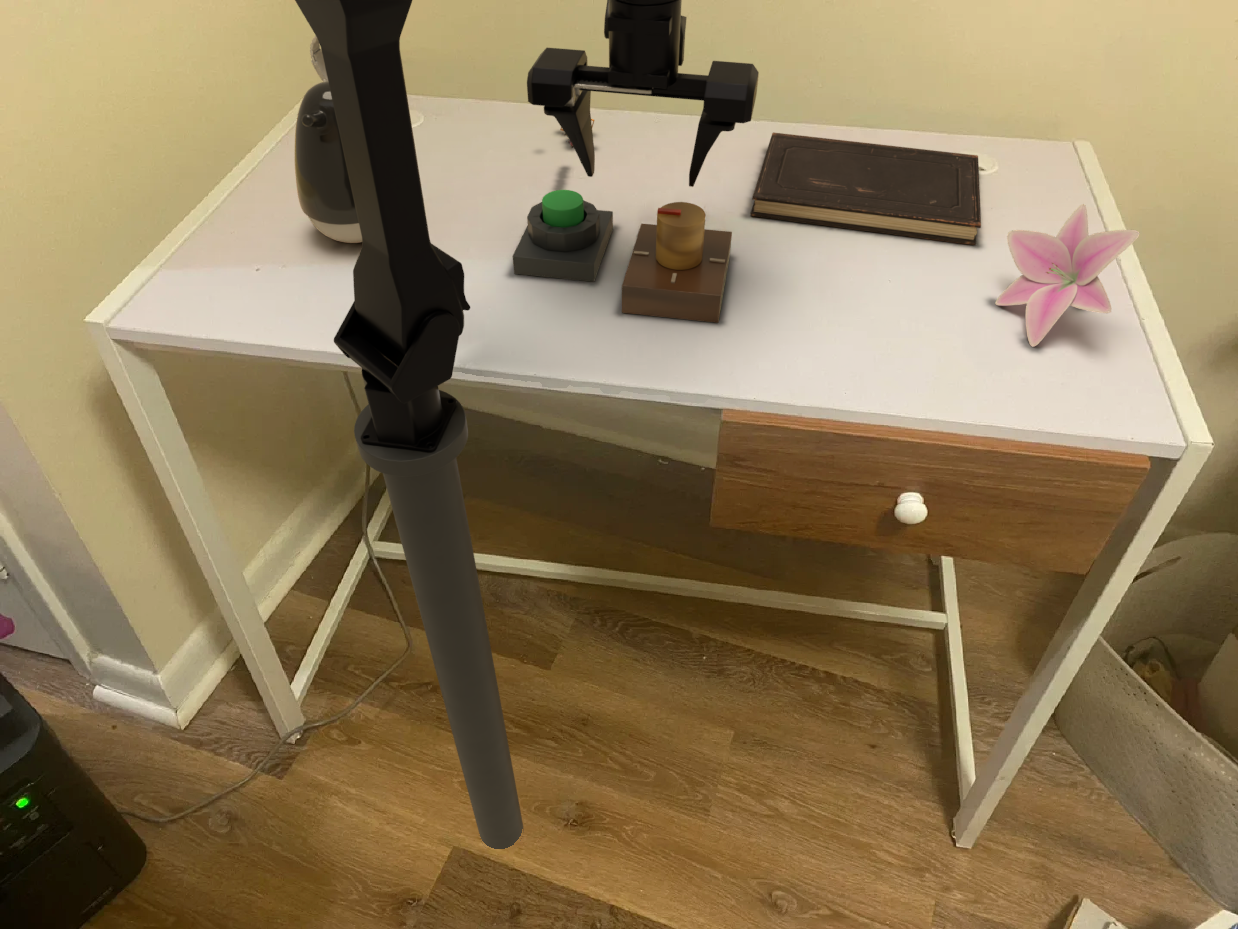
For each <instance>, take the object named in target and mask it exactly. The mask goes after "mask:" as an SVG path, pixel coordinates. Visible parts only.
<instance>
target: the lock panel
mask: <svg viewBox="0 0 1238 929" xmlns="http://www.w3.org/2000/svg"><path fill="white" fill-rule="evenodd" d="M656 230H657V224H652V223H642V222H641V223H640V226H639V230H638V233H637V236H636V238H635V241H634V245H633V248H632V252H631V255H630V258H629V261H628V263H627V264H628V265H627V268H626V271H625V274H624V277H623V281H622V284H621V314H632V315H639V316H651V317H660V318H667V319H668V318H669V319H677V320H688V321H698V322H706V323H717V324H718V323H720V322H719V321H720V315H721V312H722V311H721V310H722V305H723V304H722V303H723V298H724V292H725V286H726V282H727V276H728V269H729V264H730V257H731V247H732V236H733V231H729V230H728V231H727V230H719V229H718V230H717V229H707V228H705V230H704V244H703V257H702V261H701V263H700V264H699V265H697V266H696V267H693V268H691V269H686V270H674V269H669V268H666V267H664V266H662V265H661V264H660V263H658V261H657V260H656Z"/></svg>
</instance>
